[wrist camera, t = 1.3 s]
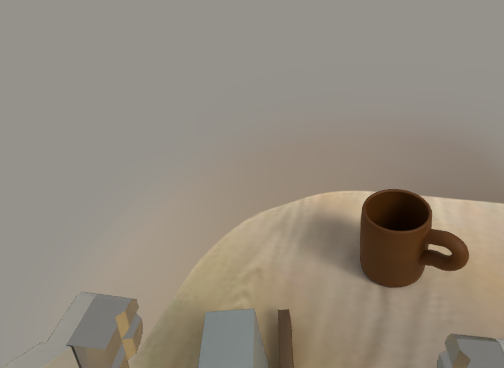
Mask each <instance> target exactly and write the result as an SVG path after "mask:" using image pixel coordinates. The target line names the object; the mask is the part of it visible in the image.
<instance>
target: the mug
mask: <svg viewBox="0 0 504 368" xmlns="http://www.w3.org/2000/svg"><path fill="white" fill-rule="evenodd" d="M431 227H432V210H431V208H430V206H429V204H428V203H427V202H426V201H425V200H424V199H423V198H422V197H420V196H419V195H417V194H415V193H412V192H409V191H406V190H399V189H388V190H382V191H379V192H376V193H374V194H372V195H371V196H369V197H368V198H367V199H366V201H365V202H364V204H363V207H362V214H361V231H360V260H361V265H362V268H363V270H364V272H365V273H366V274H367V275H368V277H370V278H371V279H372V280H373V281H375V282H377V283H379V284H381V285H384V286H388V287H404V286H407V285H410V284H412V283H414V282H415V281H417V280H418V279H419V278H420V276H421V275H422V273H423V271H424V267H425V265H427V266H434V267H436V268H438V269H441V270H445V271H455V270H459V269H461V268H462V267H464V266H465V265H466V263H467V261H468V259H469V252H468V249H467V246H466V245H465V243H464V242H463V241H462V240H461V239H459V238H458V237H457V236H455V235H453V234H452V233H450V232H447V231H441V230H434V229H431ZM429 244H433V245H438V246H443V247H446V248H447V249H449V250H450V251H451V252H452V255H450V256H449V255H445V254H442V253H440V252H438V251H435V250H428V245H429Z"/></svg>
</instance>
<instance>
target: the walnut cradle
mask: <svg viewBox="0 0 504 368" xmlns="http://www.w3.org/2000/svg"><path fill="white" fill-rule="evenodd" d="M278 320H279V354H280V368H294V365H293V347H292V330H291V319H290V313H289V309H288V310H278Z"/></svg>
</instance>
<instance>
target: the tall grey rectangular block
mask: <svg viewBox="0 0 504 368" xmlns="http://www.w3.org/2000/svg"><path fill="white" fill-rule="evenodd" d="M198 368H269V365H268V361H267V357H266V353H265V349H264V345H263V341H262V337H261V333H260V329H259V325H258V321H257V317H256V313H255V309H243V310H228V311H214V312H205V320H204V327H203V334H202V342H201V349H200V356H199V364H198Z"/></svg>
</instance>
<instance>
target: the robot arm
mask: <svg viewBox="0 0 504 368" xmlns="http://www.w3.org/2000/svg"><path fill="white" fill-rule="evenodd" d="M138 308H139V307H138V303H137V300H136V299H131V298H124V297H117V296H110V295H103V294H95V293H87V292H81V293H80V294H79V295H78V296H76V298H75V299H74V301H73V302H72V304H71V305H70V307H69V308H68V310H67V311H66V313H65V315H64V316H63V318H62V319H61V321H60V322H59V324H58V325H57V327H56V328H55V330H54V331H53V333H52V334H51V336H50V338H49V339H48V341H47V342H46V343H39V344H38V345H36V346H35V347H33V348H32V349H30V350H28V351H27V352H25V353H24V354H22V355H21V356H19V357H18V358H16V359H15V360H13V361H12V362H10V363H9V364H7V365H6V366H4V367H3V368H129V364H128V359H129V358H130V357H132V356H133V355H134V354H135V353H136V352H137V350H138V347H139V345H140V341H141V337H142V319H141V318H140V317H139V316H138V315H137V314H136V312H137V310H138ZM445 344H446V348H447V350H446V351H444V352H442V353H441V354H440V356H439V359H438V361H437V368H504V340H501V339H493V338H487V337H477V336H467V335H457V334H451V335H449V336H448V337H447V339H446V342H445Z"/></svg>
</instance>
